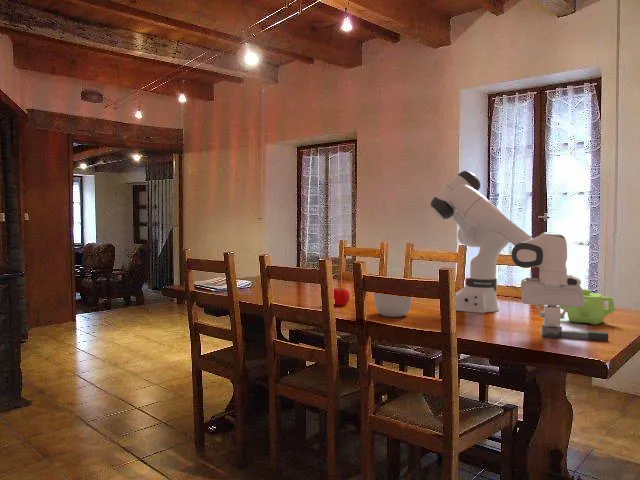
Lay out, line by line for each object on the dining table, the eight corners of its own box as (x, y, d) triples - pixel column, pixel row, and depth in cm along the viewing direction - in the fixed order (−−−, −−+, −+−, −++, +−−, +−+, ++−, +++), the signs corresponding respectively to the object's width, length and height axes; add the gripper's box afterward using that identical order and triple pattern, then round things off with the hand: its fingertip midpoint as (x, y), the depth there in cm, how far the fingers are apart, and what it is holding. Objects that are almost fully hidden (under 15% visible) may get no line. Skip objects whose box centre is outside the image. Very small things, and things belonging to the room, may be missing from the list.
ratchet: (542, 337, 184) (542, 316, 184) (541, 333, 190) (541, 313, 190) (609, 342, 177) (609, 320, 177) (606, 338, 183) (606, 316, 183)
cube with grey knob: (544, 324, 185) (544, 304, 184) (543, 321, 189) (544, 301, 189) (560, 325, 183) (560, 305, 183) (559, 322, 188) (559, 302, 187)
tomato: (325, 305, 249) (325, 288, 248) (337, 302, 257) (337, 285, 257) (342, 307, 244) (342, 289, 243) (354, 304, 252) (354, 287, 252)
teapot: (612, 330, 197) (613, 295, 196) (554, 324, 207) (555, 291, 206) (615, 321, 212) (616, 289, 211) (561, 316, 223) (561, 285, 222)
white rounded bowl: (375, 311, 235) (375, 277, 235) (413, 312, 232) (414, 278, 231) (371, 318, 219) (371, 281, 218) (412, 320, 215) (412, 283, 215)
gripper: (521, 278, 186) (520, 317, 187) (585, 281, 179) (584, 321, 180) (520, 276, 192) (520, 314, 193) (583, 278, 185) (582, 318, 186)
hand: (551, 317), depth 186 cm, fingers closed on cube with grey knob, 5 cm apart
